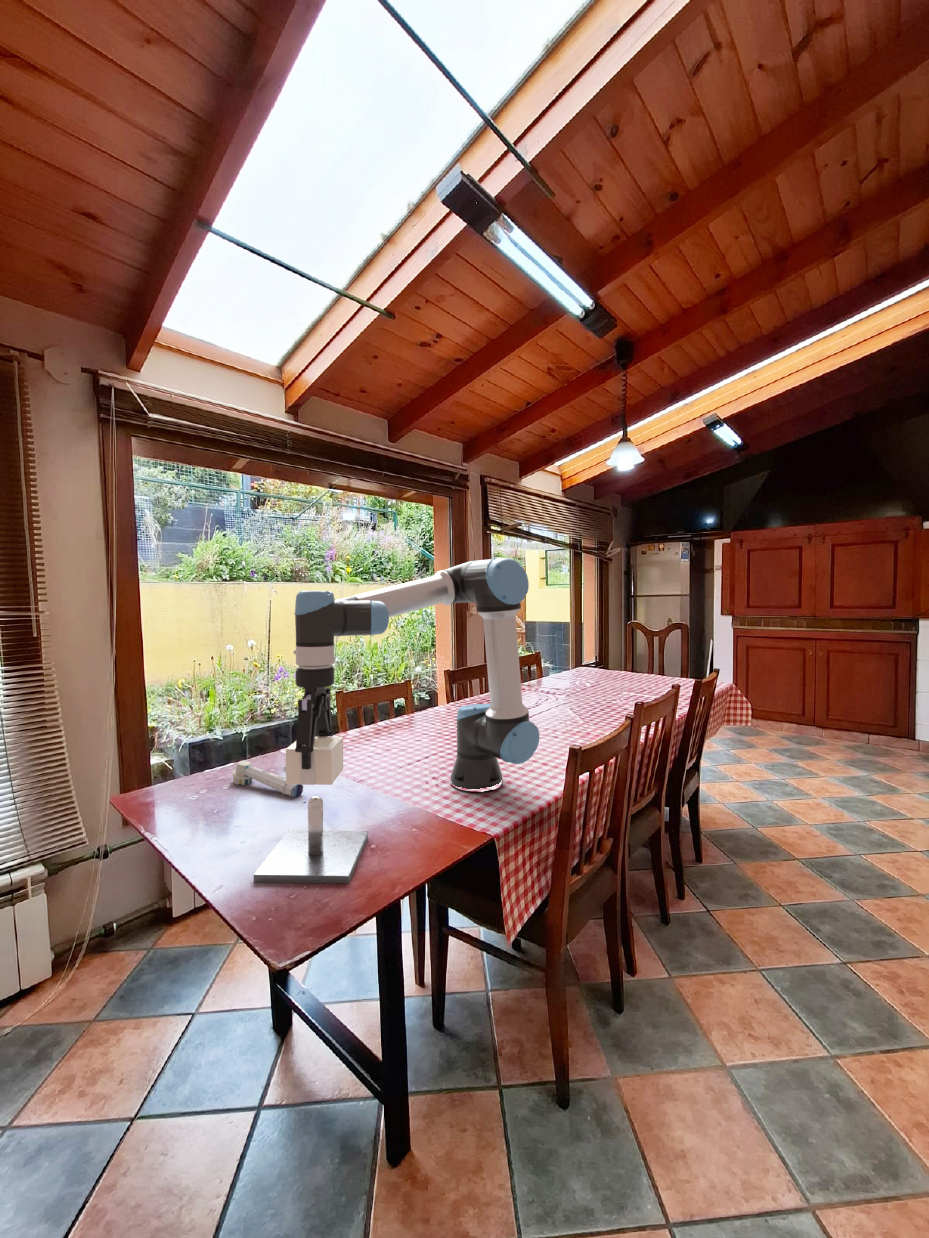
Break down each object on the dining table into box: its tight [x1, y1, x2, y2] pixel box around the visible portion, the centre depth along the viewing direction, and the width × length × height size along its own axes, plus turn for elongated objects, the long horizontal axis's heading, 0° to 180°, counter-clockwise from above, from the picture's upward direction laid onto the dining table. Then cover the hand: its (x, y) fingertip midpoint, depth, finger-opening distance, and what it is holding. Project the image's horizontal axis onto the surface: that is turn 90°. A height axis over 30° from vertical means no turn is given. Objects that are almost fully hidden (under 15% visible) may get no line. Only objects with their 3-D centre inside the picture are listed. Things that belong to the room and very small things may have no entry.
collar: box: [285, 736, 344, 786], centre depth 102 cm, size 9×9×7 cm
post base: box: [253, 795, 369, 884], centre depth 103 cm, size 18×18×13 cm
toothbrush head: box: [231, 760, 304, 799], centre depth 141 cm, size 5×7×25 cm
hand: (315, 775), depth 102 cm, fingers closed on collar, 9 cm apart
